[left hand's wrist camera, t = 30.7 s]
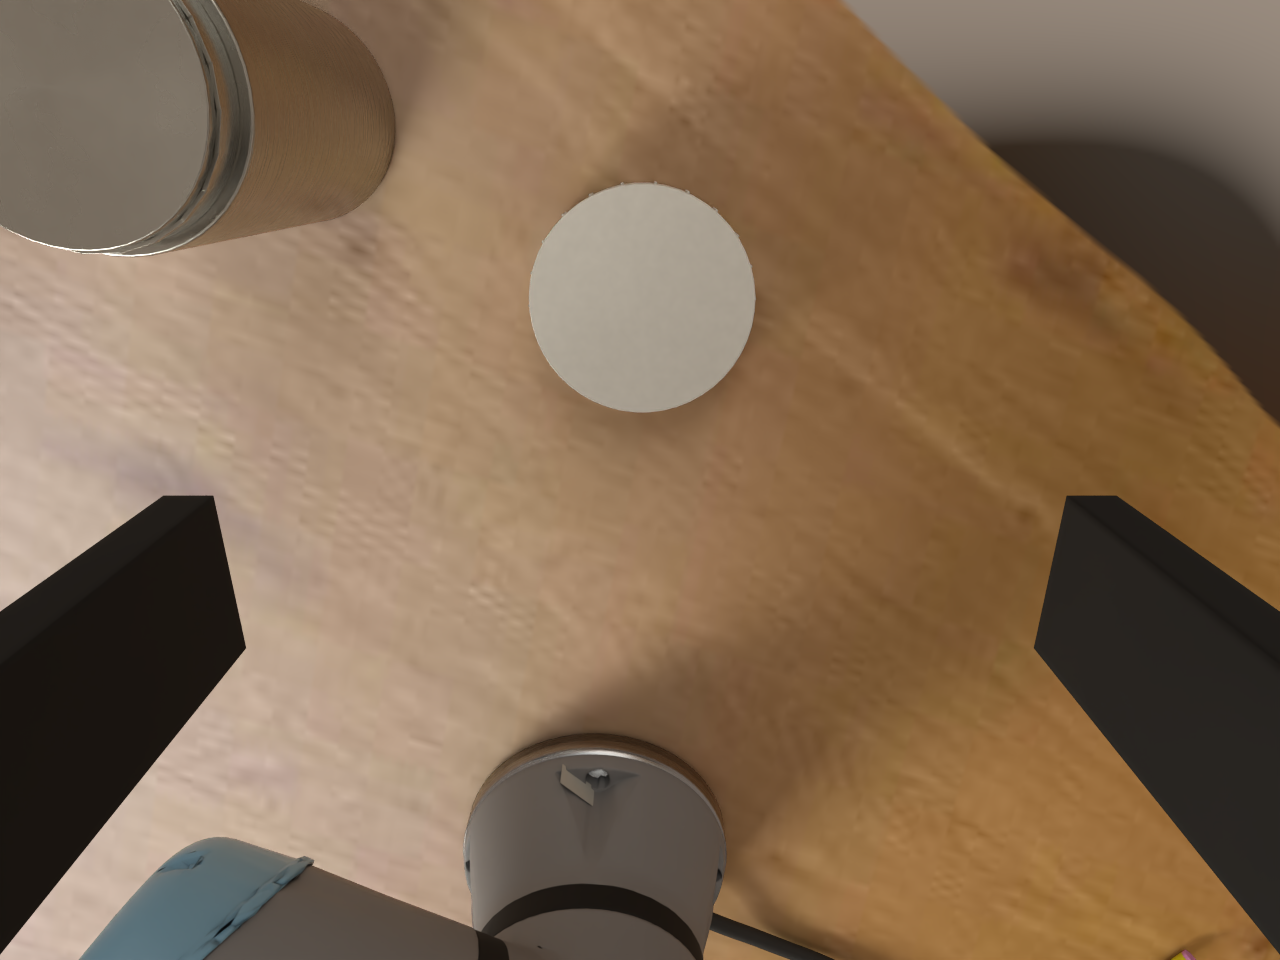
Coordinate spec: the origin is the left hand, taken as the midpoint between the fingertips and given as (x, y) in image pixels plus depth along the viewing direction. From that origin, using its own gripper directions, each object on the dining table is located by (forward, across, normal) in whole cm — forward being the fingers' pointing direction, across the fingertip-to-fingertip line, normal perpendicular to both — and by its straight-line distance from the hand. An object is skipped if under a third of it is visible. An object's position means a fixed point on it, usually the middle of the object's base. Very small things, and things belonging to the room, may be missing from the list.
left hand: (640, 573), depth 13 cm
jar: (+26, +14, -8) cm, 30 cm away
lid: (+24, 0, 0) cm, 24 cm away
